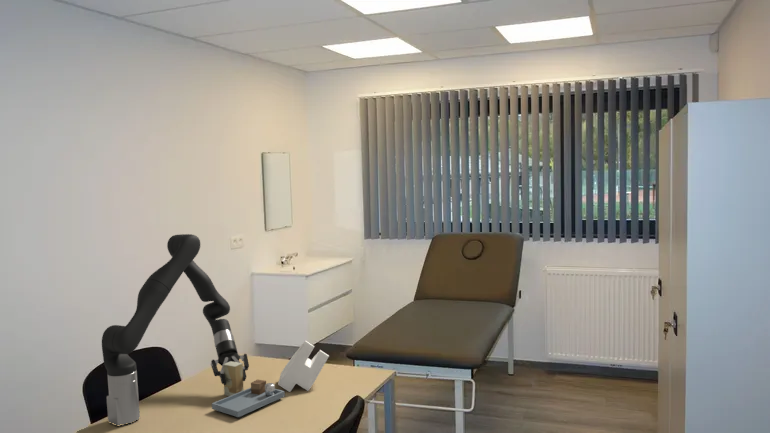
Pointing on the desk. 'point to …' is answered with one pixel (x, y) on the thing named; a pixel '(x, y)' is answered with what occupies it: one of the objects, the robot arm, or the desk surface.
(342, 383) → the desk surface
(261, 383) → the walnut block
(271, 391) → the chrome dome knob
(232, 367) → the skincare box
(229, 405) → the blue-grey serving tray
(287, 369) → the slotted wedge
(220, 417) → the desk surface
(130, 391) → the robot arm
